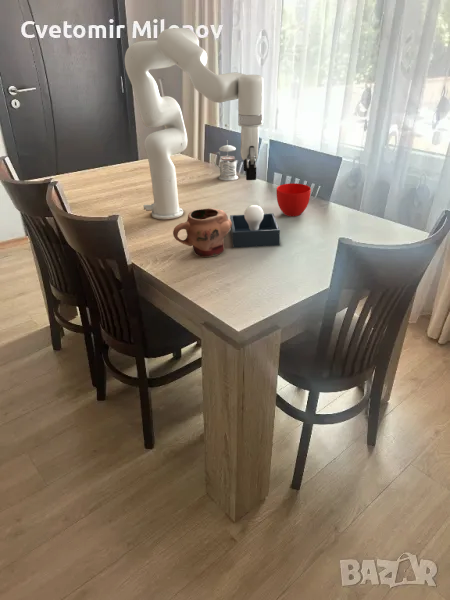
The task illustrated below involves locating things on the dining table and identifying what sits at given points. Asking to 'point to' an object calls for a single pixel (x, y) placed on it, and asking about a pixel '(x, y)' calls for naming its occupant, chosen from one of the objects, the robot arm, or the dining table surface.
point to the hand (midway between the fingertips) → (249, 175)
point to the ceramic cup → (293, 198)
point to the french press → (226, 173)
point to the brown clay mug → (205, 231)
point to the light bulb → (254, 216)
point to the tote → (255, 232)
